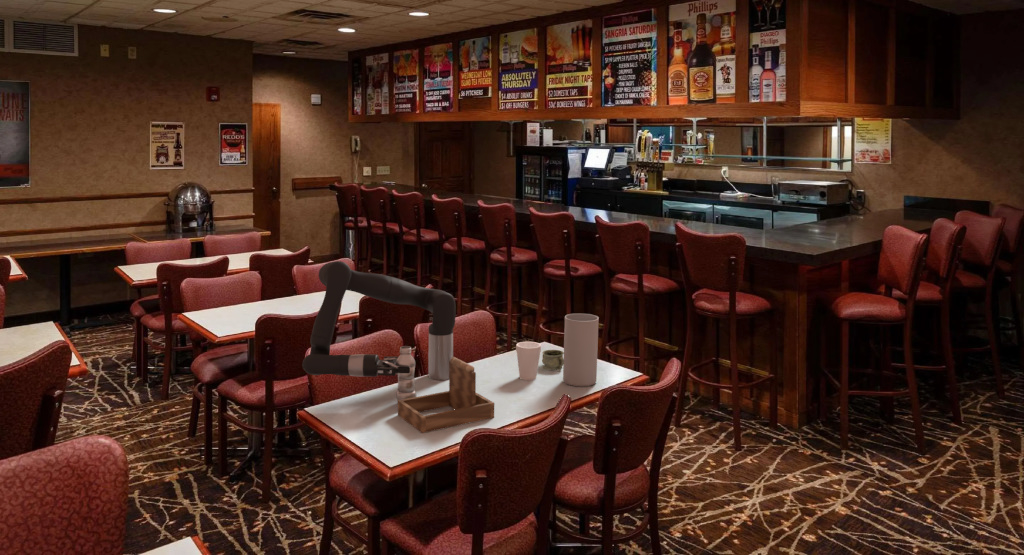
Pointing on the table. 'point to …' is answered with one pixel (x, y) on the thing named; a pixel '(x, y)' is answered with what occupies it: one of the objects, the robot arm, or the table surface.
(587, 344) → the cylinder vase
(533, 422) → the table surface
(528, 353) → the foam cup
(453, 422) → the wooden box
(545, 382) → the table surface
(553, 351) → the vessel
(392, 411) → the table surface
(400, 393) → the plastic bottle
